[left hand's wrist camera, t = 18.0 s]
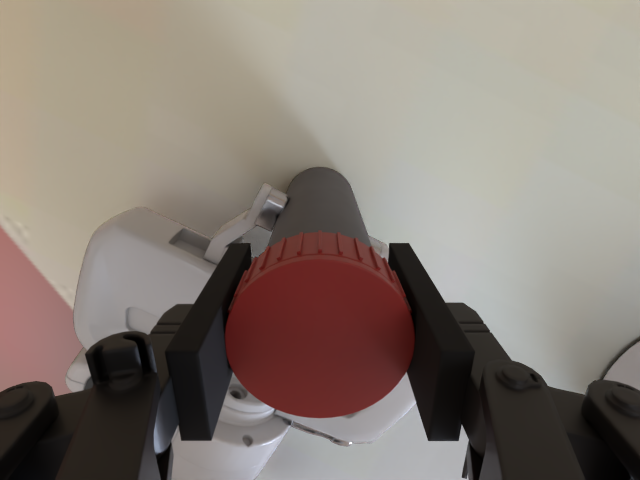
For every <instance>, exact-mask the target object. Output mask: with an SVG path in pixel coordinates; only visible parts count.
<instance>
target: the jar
mask: <svg viewBox="0 0 640 480" xmlns="http://www.w3.org/2000/svg"><path fill="white" fill-rule="evenodd" d="M286 194H287V195H289V197H288V199H287V202H286V204H285V206H284V208H283V210H282V212H281V213H280V214H279V216H278V219H277V221H276V224H275V227H274V230H273V233H272V235H271V238H270V241H269V244H268V246H270V247H271V246H273V245H274V244H276V243H278V242H280V241H281V240H282V238H284V237H285V238H289V237H292V236H295V235H299V233H300V232H303V234H305V233H314V232H318V230H322V232H326V233H335V234H337V232H340V234H341V235H344V236H347V237H350V238H353V239H354V238H355V237H356V238H358V240H359V241H360V242H362V243H364V244H365V245H367V246H368V247H370V246H372V245H371V242H370V239H369V236H368V234H367V231H366V228H365V225H364V222H363V219H362V217H361V214H360V211H359V208H358V205H357V202H356V200H355V197H354V194H353V191H352V188H351V186H350V184H349V183H348V181H347V180H346V179H345V178H344V177H343V176H342V175H341V174H340V173H338V172H337V171H335V170H332V169H329V168H324V167H316V168H311V169H307V170H305V171H303V172H301V173H300V174H299V175H297V176H296V177H295V178H294V179H293V181H292V182H291V184H290V185H289V188H288V190H287V193H286Z"/></svg>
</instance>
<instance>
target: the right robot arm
mask: <svg viewBox="0 0 640 480" xmlns="http://www.w3.org/2000/svg"><path fill="white" fill-rule="evenodd" d="M288 197H289V195H287V194H285V193H283V192H281V191H279V190H278V189H276V188H274V187H273V188H272V186H270V185H268V184H266V183H264V184H263V185H262V187H261V189H260V190H259V192H258V194H257V196H256V198H255V200H254V202H253V204H252V206H251V209H248V210H246V211H245V212H243V213H242V214H240V215H238V216H237V217H235V218H234V219H232V220H231V221H229V222H227V223H226V224H224V225H223V226H221V228H220V229H219V230H218V232H217V233H216V234H215V235H214V237H213V238H209V237H207V236H205V235H203V234H201V233H199V232H197V231H194V230H192V229H190V228H188V227H186V226H184V225H182V224H179V223H177V222H175V221H173V220H171V219H169V218H167V217H164V216H162V215H160V214H158V213H156V212H154V211H152V210H150V209H147V208H144V207H136V208H133V209H131V210H128V211H125V212H123V213H121V214H119V215H116V216H114V217H113V218H111V219H109V220H108V221H106V222H105V223H103V224H102V225H101V226H100V227H98V229H97V230H96V231H95V232H94V233H93V235H92V237H91V239H90V241H89V244H88V246H87V249H86V253H85V256H84V259H83V263H82V267H81V271H80V276H79V280H78V285H77V291H76V297H75V303H74V312H73V323H74V329H75V333H76V335H77V338H78V340H79V341H80V343H81V344H82V346H83V348H82V350H81V351H80V352H79V354H78V355H77V357H76V358H75V359H74V361H73V362H72V364H71V365H70V367H69V369H68V371H67V373H66V377H65V382H66V385H67V387H68V388H69V389H70V390H71V391H72V392H78V391H82V390H86V389H89V388H92V387H93V382H92V378H91V374H90V371H89V367H88V364H87V360H86V357H85V353H86V352H87V351H88V349H89V348H90V347H91V346H92V345H94V344H95V343H97V342H98V341H99V340H101V339H103V338H106V337H108V336H110V335H112V334H117V333H121V332H125V331H139V332H143V333H146V334H147V335H148V334H150V331H151V330H152V329H153V327H154V326H155V325H156V324H157V322H158V320H159V319H160V318H161V316H162V315H163V314H164V312H166V311H167V310H169V309H170V308H172V307H173V306H175V305H176V304H194V303H195V301H196V299H197V298H198V296H199V295H200V293H201V291H202V290H203V288H204V286H205V285H206V283H207V281H208V280H209V278H210V277H211V275H212V273H213V272H214V270H215V268H216V267H217V265H218V264H219V262H220V260H221V259H222V257H223V255H224V254H225V252H226V250H227V249H228V247H229V246H230V244H231V243H241V242H242V240H243V236H242V235H243V234H245V233H246V232H248V231H249V230H251V229H252V228H254V227H255V226H257V225H258V226H260V227H262V228H264V229H267V230H269V231H271V232H272V230H273V228H274V226H275V224H276V221H277V219H278V216H279V214H280V213H281V212H282V210H283V208H284V206H285V204H286V202H287V199H288ZM368 236H369V235H368ZM369 239H370V242H371V245H372V247H374V250H375V252H376V253H378V254H379V255H380V256H381V257H382V258H384V257H385V258H386V260H388V256H389V248H388V246H387V244H385V243H383V242H381V241H379V240H377V239H375V238H373V237H371V236H369ZM251 259H252V261H253V259H254V258H252V257H251ZM603 380H610V381H617V382H620V383H624V384H627V385H629V386H632V387H634V388H636V389H638V390H640V341H639V342H637V343H636V344H635V345H633V346H632V347H631V348H629V349H628V350H627V351H626V352H625V353H624V354H623V355H622V356H621V357H620V358H619V359H618V360H617V361H616V362H615V363H614V364H613V365H612V367H611V368H610V369H609V371H608V372H607V374H606V375H605V377H604V379H603ZM415 404H416V400H415V397H414V394H413V391H412V388H411V385H410V381H409V378H408V375H407V372H406V374H405V375H404V377H403V378H402V380H401V381H400V382H399V384H398V385H397V386H396V387H395V388H394V389H393V390H392V391H391V392H390V393H389V394H388V395H386V396H385V397H384V398H383V399H381V400H380V401H378V402H377V403H375V404H374V405H372V406H370V407H368V408H366V409H364V410H361V411H358V412H355V413H353V414H349V415H345V416H340V417H333V418H307V417H300V416H295V415H291V414H287V413H284V412H281V411H279V410H276V409H274V408H272V407H270V406H268V405H266V404H264V403H263V402H261V401H260V400H258V399H257V398H255V397H254V396H253V395H252V394H251V393H249V392H248V391H247V390H246V389H245V387H244V386H243V385H242V384H241V383H240V382H239V380H238V379H237V377H236V376H235V374H234V372H233V374H232V378H231V381H230V384H229V387H228V390H227V393H226V397H225V400H224V403H223V406H222V409H221V412H220V415H219V419H218V422H217V425H216V428H215V431H214V434H213V438H212V441H181V437H180V432H179V426H177V429H176V431H175V433H174V436H173V438H172V440H171V442H172V447H173V454H174V458H173V468H172V479H171V480H255V478H256V477H257V476H258V475H259V473H260V472H261V470H262V469H263V467H264V466H265V464H266V463H267V461H268V460H269V458H270V457H271V455H272V454H273V452H274V451H275V449H276V447H277V446H278V445H279V443H280V442H281V440H282V439H283V437H284V436H285V434H286V433H287V431H288V430H289V428H290V426H291V427H294V428H296V429H299V430H302V431H304V432H307V433H310V434H313V435H318V436H322V437H324V438H327V439H329V440H330V441H331V442H333V443H335V444H338V445H341V446H350V444H351V443H356V444H360V443H373V442H374V441H376V440H377V439H378V438H379V437H380V436H381V434H383V433H384V432H385V431H386V430H388V429H389V428H390V427H391V426H392V425H394V424H395V423H396V422H397V421H398V420H399V419H400V418H401V417H402V416H404V415H405V414H406V413H407V412H408V411H409V410H410V409H411V408H412V407H413V406H414V405H415Z"/></svg>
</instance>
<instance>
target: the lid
mask: <svg viewBox="0 0 640 480" xmlns="http://www.w3.org/2000/svg"><path fill="white" fill-rule="evenodd" d="M227 313H229V315H228V318H227V322H226V326H225V334H224V336H225V347H226V355H227V359H228V361H229V364H230V367H231V369H232V371H233V372H234V374H235V376H236V377H237V379H238V380H239V382H240V383H241V384H242V385H243V386H244V387H245V389H246V390H247V391H248V392H249V393H251V394H252V395H253V396H254V397H255V398H257V399H258V400H260V401H261V402H263V403H264V404H266V405H268V406H270V407H272V408H274V409H276V410H279V411H281V412H284V413H287V414H291V415H295V416H300V417H307V418H333V417H340V416H345V415H349V414H353V413H355V412H358V411H361V410H364V409H366V408H368V407H370V406H372V405H374V404H375V403H377V402H378V401H380V400H381V399H383V398H384V397H385V396H386V395H388V394H389V393H390V392H391V391H392V390H393V389H394V388H395V387H396V386H397V385H398V384H399V382H400V381H401V380H402V378H403V377H404V375H405V374H406V372H407V370H408V368H409V366H410V363H411V360H412V357H413V353H414V344H415V330H414V324H413V320H412V317H411V314H410V313H412V310H411V307H410V305H409V303H408V301H407V298H406V295H405V293H404V291H403V288H402V286H401V284H400V281H399V279H398V277H397V274H396V272H395V270H394V271H392V270H391V269H390V267H389V264H388V262H387V260H386V258H385V257H384V258H382V257H381V256H380V255H379V254H378V253H376V252H375V250H374V247H372V246H370V247H368V246H367V245H365V244H364V243H362V242H360V241H359V240H358V238H356V237H355V238H354V239H353V238H350V237H347V236H344V235H341V234H340V232H337V234H335V233H326V232H322V230H318V232H314V233H305V234H303V232H300V233H299V235H295V236H292V237H289V238H285V237H284V238H282V240H281V241H280V242H278V243H276V244H274V245H273V246H271V247H270V246H267V247H266V250H265V251H264V252H263V253H262V254H261V255H260V256H259V257H258V258H257V257H255V258H254V259H253V261H252V264H251V266H250V268H249V270H248V271H247V270H245V272H244V274H243V276H242V278H241V280H240V283H239V285H238V287H237V290H236V292H235V294H234V297H233V299H232V302H231V304H230V306H229V309H228V312H227Z"/></svg>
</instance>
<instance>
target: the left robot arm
mask: <svg viewBox="0 0 640 480" xmlns="http://www.w3.org/2000/svg"><path fill="white" fill-rule="evenodd" d="M251 264H252V259H251V246H250V243H231V244H230V246H229V247H228V249H227V250H226V252H225V254H224V255H223V257H222V259H221V260H220V262H219V264H218V265H217V267H216V268H215V270H214V272H213V273H212V275H211V277H210V278H209V280H208V281H207V283H206V285H205V286H204V288H203V290H202V291H201V293H200V295H199V296H198V298H197V299H196V301H195V303H194V304H176V305H175V306H173V307H172V308H170V309H169V310H167V311H166V312H164V314H163V315H162V316H161V318H160V319H159V320H158V322H157V324H156V325H155V326H154V327H153V329H152V330H151V331H150V334H148V335H147V334H146V333H143V332H139V331H125V332H121V333H117V334H112V335H110V336H108V337H106V338H103V339H101V340H99V341H98V342H97V343H95V344H94V345H92V346H91V347H90V348H89V349H88V351H87V352H86V353H85V357H86V360H87V364H88V367H89V371H90V374H91V378H92V382H93V387H92V388H89V389H86V390H82V391H78V392H73V393H69V394H64V395H60V396H55V395H54V392H53V389H52V387H51V386H50V385H49V384H47V383H46V382H38V381H34V382H27V383H22V384H19V385H16V386H13V387H10V388H8V389H6V390H4V391H2V392H0V480H171V479H172V468H173V458H174V454H173V447H172V442H171V440H172V438H173V436H174V433H175V431H176V429H177V426H179V432H180V437H181V441H212V438H213V434H214V431H215V428H216V425H217V422H218V419H219V415H220V412H221V409H222V406H223V403H224V400H225V397H226V393H227V390H228V387H229V384H230V381H231V378H232V374H233V371H232V369H231V367H230V364H229V361H228V359H227V355H226V347H225V336H224V334H225V326H226V322H227V318H228V315H229V313H227V312H228V309H229V306H230V304H231V302H232V299H233V297H234V294H235V292H236V290H237V287H238V285H239V283H240V280H241V278H242V276H243V274H244V272H245V270H247V271H248V270H249V268H250V266H251ZM388 264H389V267H390V269H391V270H392V271H394V270H395V272H396V274H397V277H398V279H399V281H400V284H401V286H402V288H403V291H404V293H405V295H406V298H407V301H408V303H409V305H410V307H411V310H412V313H410V314H411V317H412V320H413V324H414V330H415V344H414V353H413V357H412V360H411V363H410V366H409V368H408V370H407V375H408V378H409V381H410V385H411V388H412V391H413V394H414V397H415V400H416V404H417V407H418V410H419V413H420V416H421V419H422V422H423V426H424V429H425V432H426V435H427V438H428V441H459V436H460V430H461V425H463V427H464V430H465V432H466V434H467V437H468V439H469V442H468V447H467V452H466V457H465V462H464V467H463V473H462V478H466V479H467V475H468V478H469V480H640V390H638V389H636V388H634V387H632V386H629V385H627V384H624V383H620V382H617V381H610V380H598V381H593V382H592V383H591V384H590V385H588V388H587V391H586V394H585V395H583V394H578V393H574V392H569V391H565V390H560V389H556V388H552V387H549V386H547V384H546V382H545V381H544V379H543V378H542V377H541V375H539V374H538V373H537V372H536V371H534V370H533V369H532V368H530V367H528V366H526V365H524V364H522V363H519V362H515V361H512V360H511V359H510V357H509V356H508V355H507V353H506V352H505V351H504V349H503V348H502V347H501V345H500V344H499V342H498V341H497V340H496V338H495V337H494V336H493V334H492V333H490V330H489V329H488V327H487V326H486V325H485V324H484V323H483V321H482V319H481V318H480V316H479V315H478V314H477V312H476V311H474V310H473V309H471V308H470V307H468V306H467V305H466V304H464V303H445V301H444V300H443V298H442V297H441V295H440V293H439V292H438V290H437V288H436V287H435V285H434V283H433V282H432V280H431V279H430V277H429V275H428V274H427V272H426V270H425V269H424V267H423V266H422V264H421V262H420V261H419V259H418V257H417V256H416V254H415V252H414V251H413V249H412V248H411V246H410V244H409V243H389V256H388Z"/></svg>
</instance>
